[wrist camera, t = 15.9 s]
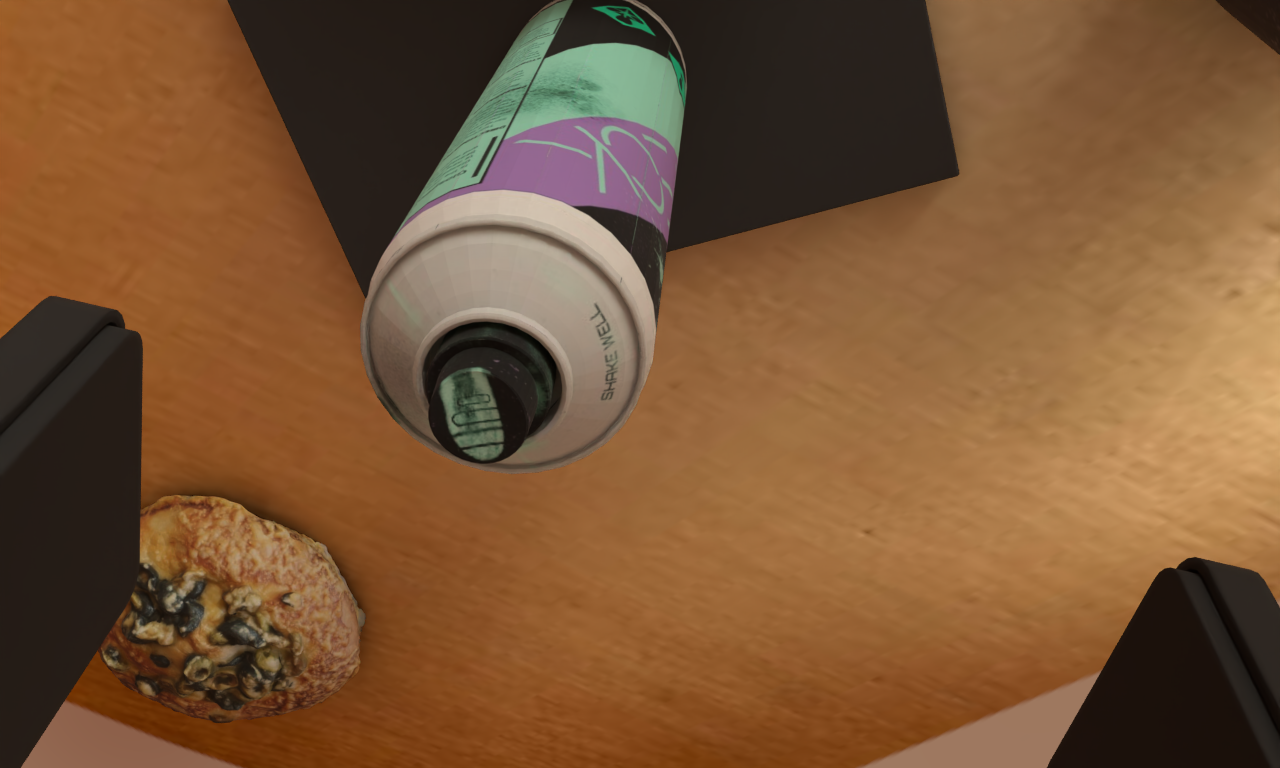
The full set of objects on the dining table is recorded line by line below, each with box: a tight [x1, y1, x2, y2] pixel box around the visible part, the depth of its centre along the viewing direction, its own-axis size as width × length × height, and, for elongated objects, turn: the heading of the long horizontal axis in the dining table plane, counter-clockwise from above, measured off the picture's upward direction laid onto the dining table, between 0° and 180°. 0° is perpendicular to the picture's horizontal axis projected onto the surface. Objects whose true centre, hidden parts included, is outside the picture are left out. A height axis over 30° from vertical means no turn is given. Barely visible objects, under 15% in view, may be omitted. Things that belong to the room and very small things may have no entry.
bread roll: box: [98, 495, 366, 723], centre depth 48 cm, size 11×11×5 cm
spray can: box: [360, 0, 687, 474], centre depth 29 cm, size 6×6×20 cm
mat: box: [228, 0, 959, 298], centre depth 38 cm, size 12×20×1 cm, turn 107°
